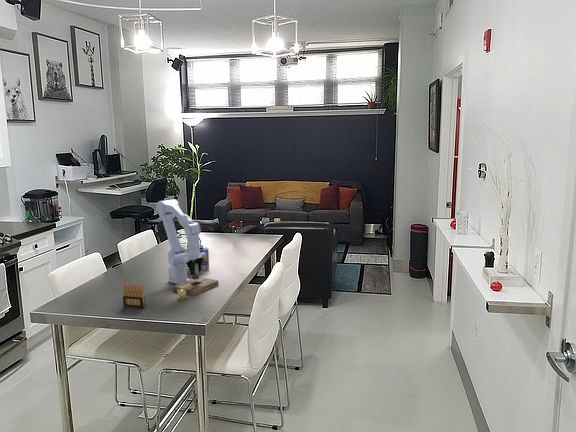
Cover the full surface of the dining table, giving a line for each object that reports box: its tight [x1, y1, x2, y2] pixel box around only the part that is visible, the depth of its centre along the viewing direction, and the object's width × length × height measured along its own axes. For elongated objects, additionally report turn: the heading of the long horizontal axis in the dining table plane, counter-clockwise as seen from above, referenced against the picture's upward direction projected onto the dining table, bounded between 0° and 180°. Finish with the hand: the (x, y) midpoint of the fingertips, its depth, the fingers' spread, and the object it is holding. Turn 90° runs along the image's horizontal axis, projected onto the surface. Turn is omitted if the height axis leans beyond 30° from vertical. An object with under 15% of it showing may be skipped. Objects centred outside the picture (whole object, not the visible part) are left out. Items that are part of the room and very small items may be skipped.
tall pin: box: [191, 262, 200, 279], centre depth 234 cm, size 4×4×8 cm
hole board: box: [172, 276, 219, 296], centre depth 236 cm, size 14×18×2 cm
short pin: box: [177, 289, 187, 301], centre depth 220 cm, size 4×4×4 cm
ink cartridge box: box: [193, 245, 210, 271], centre depth 267 cm, size 10×6×14 cm, turn 111°
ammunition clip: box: [122, 280, 147, 309], centre depth 211 cm, size 11×2×12 cm, turn 74°
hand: (195, 273), depth 235 cm, fingers closed on tall pin, 4 cm apart
